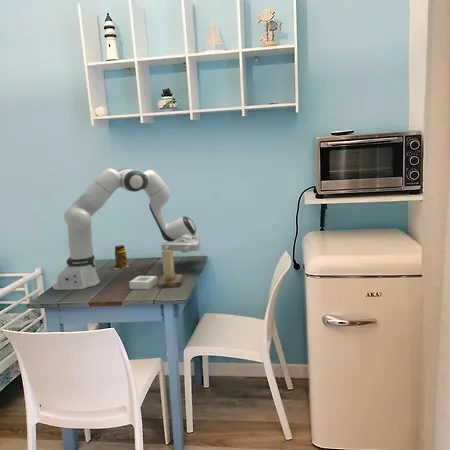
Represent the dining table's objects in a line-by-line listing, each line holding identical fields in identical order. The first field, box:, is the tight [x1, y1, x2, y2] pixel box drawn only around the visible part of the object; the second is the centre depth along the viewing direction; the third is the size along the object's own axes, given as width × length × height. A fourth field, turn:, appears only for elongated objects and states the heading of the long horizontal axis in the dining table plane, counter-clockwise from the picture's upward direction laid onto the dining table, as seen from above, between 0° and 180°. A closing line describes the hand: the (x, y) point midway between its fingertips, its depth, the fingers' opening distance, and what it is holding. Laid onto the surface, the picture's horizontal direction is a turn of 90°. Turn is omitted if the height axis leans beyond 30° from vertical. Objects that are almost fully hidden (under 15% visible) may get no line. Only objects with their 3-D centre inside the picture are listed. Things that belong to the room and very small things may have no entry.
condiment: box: [111, 244, 130, 270], centre depth 265 cm, size 7×8×12 cm
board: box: [156, 273, 183, 289], centre depth 229 cm, size 11×14×2 cm
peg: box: [161, 250, 176, 280], centre depth 227 cm, size 4×4×14 cm
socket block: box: [128, 275, 158, 290], centre depth 226 cm, size 10×10×4 cm
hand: (175, 249), depth 238 cm, fingers open, 8 cm apart
